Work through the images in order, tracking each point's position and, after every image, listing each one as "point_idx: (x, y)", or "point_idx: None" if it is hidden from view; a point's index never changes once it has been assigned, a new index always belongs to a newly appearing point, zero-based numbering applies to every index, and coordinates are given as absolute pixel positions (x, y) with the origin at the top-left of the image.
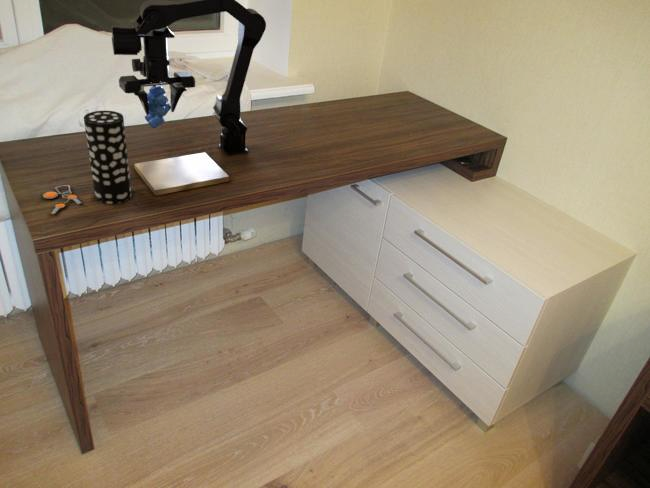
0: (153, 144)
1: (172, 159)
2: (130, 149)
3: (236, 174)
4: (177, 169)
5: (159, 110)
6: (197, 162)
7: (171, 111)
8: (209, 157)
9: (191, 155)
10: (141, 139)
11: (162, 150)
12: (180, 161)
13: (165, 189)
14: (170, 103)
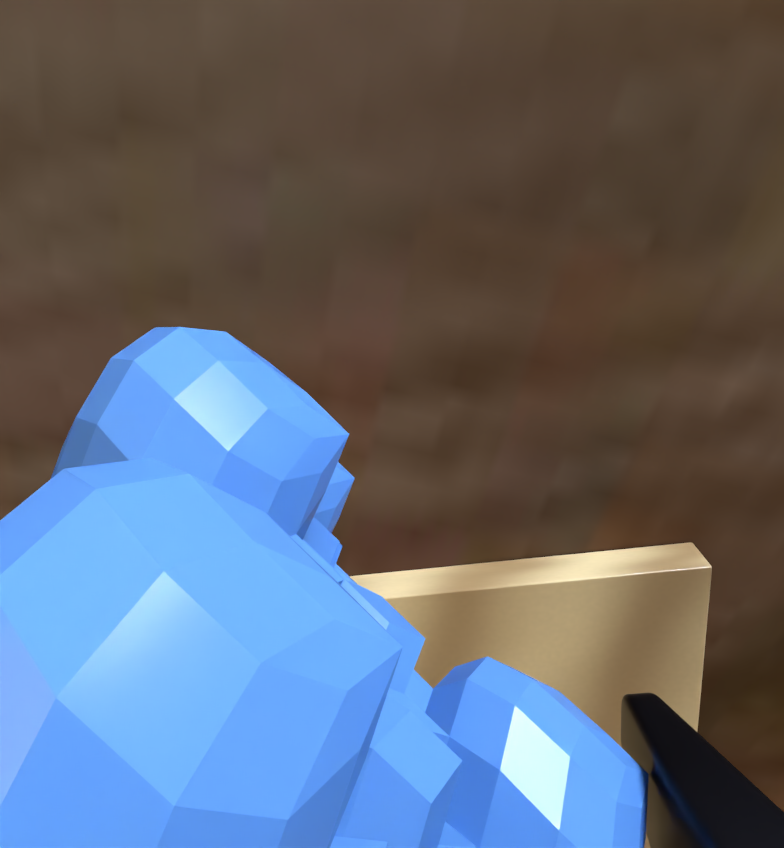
0: (358, 194)
1: (427, 618)
2: (139, 265)
3: (756, 777)
4: None
5: None
6: (582, 693)
7: (621, 710)
8: (702, 646)
9: (587, 594)
10: (255, 20)
11: (410, 349)
12: (474, 656)
13: None
14: (703, 844)
